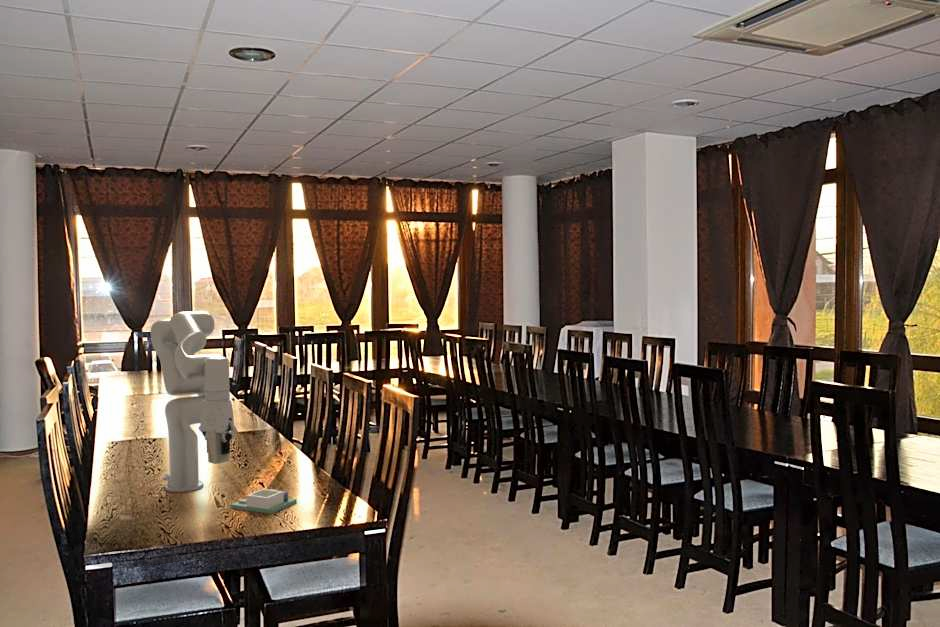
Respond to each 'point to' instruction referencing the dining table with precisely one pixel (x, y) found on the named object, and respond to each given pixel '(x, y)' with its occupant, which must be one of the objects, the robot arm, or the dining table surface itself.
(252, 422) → the dining table surface
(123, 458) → the dining table surface
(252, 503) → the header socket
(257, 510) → the board
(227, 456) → the box
